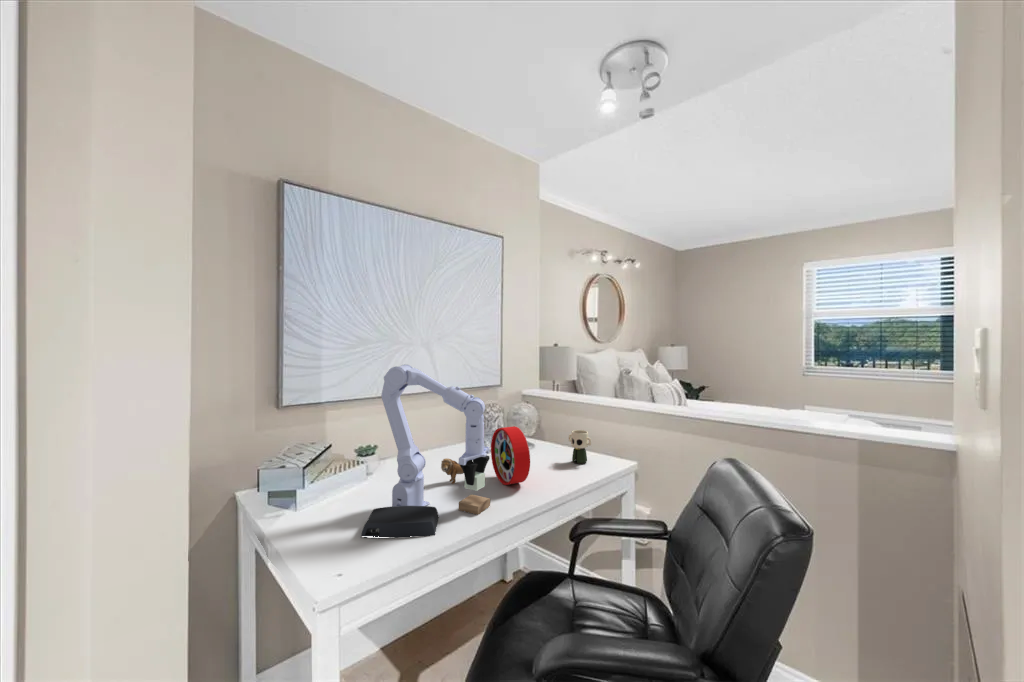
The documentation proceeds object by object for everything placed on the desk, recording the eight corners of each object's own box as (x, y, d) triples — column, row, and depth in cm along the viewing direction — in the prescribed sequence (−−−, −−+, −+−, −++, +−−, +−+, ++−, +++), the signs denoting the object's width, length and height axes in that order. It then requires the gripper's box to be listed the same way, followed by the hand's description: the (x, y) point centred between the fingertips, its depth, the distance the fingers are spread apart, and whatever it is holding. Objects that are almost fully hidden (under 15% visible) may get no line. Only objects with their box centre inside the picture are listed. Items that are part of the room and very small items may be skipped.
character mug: (564, 461, 175) (564, 431, 175) (573, 457, 180) (573, 428, 180) (586, 467, 168) (586, 435, 168) (595, 463, 173) (595, 432, 173)
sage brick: (476, 490, 124) (476, 476, 124) (464, 488, 126) (464, 473, 126) (484, 486, 128) (484, 471, 128) (472, 483, 130) (472, 469, 130)
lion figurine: (442, 486, 146) (442, 461, 146) (439, 481, 151) (439, 456, 151) (482, 482, 150) (482, 457, 150) (478, 477, 155) (479, 453, 155)
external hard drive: (372, 519, 121) (372, 505, 121) (439, 516, 122) (439, 503, 122) (359, 541, 108) (359, 525, 108) (434, 538, 109) (434, 523, 109)
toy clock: (490, 475, 158) (491, 423, 157) (504, 472, 160) (504, 421, 160) (515, 493, 140) (515, 434, 140) (530, 490, 143) (530, 432, 142)
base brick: (478, 515, 123) (478, 506, 123) (458, 510, 126) (458, 502, 126) (490, 506, 129) (490, 498, 129) (471, 502, 132) (471, 494, 132)
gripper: (472, 445, 119) (472, 492, 119) (497, 434, 132) (497, 476, 132) (452, 442, 122) (452, 487, 122) (478, 432, 135) (478, 473, 135)
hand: (474, 481), depth 127 cm, fingers closed on sage brick, 4 cm apart
